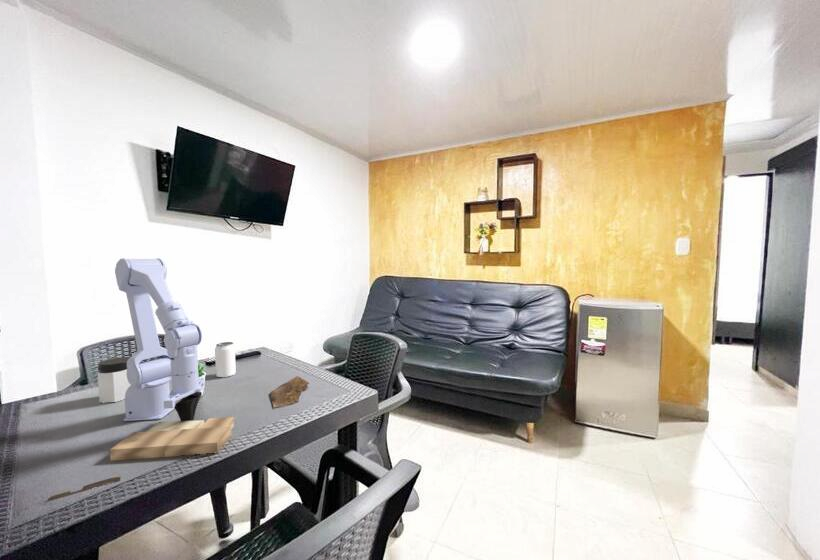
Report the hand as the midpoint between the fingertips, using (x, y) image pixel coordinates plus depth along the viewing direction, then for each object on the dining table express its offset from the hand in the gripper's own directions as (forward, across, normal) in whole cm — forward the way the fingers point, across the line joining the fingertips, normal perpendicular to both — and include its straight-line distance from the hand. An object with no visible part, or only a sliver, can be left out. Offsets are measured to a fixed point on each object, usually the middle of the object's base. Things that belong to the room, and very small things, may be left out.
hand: (187, 422), depth 83 cm
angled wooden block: (+1, -7, -3) cm, 8 cm away
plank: (+2, -4, +1) cm, 4 cm away
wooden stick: (+2, -22, +7) cm, 23 cm away
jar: (+1, +22, +32) cm, 39 cm away
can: (+1, +39, +8) cm, 39 cm away
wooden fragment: (+2, +21, -20) cm, 29 cm away
